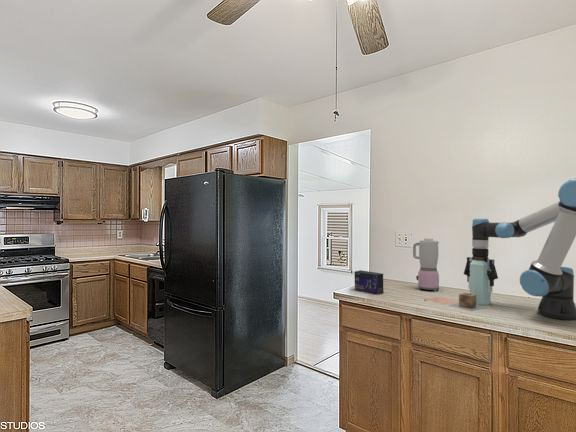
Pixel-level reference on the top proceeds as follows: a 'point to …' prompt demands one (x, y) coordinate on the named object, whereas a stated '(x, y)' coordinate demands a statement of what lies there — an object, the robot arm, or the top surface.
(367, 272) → the black digital alarm clock
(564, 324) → the top surface
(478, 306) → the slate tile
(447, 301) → the terracotta tile
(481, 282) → the water bottle
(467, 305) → the walnut block
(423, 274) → the blender
